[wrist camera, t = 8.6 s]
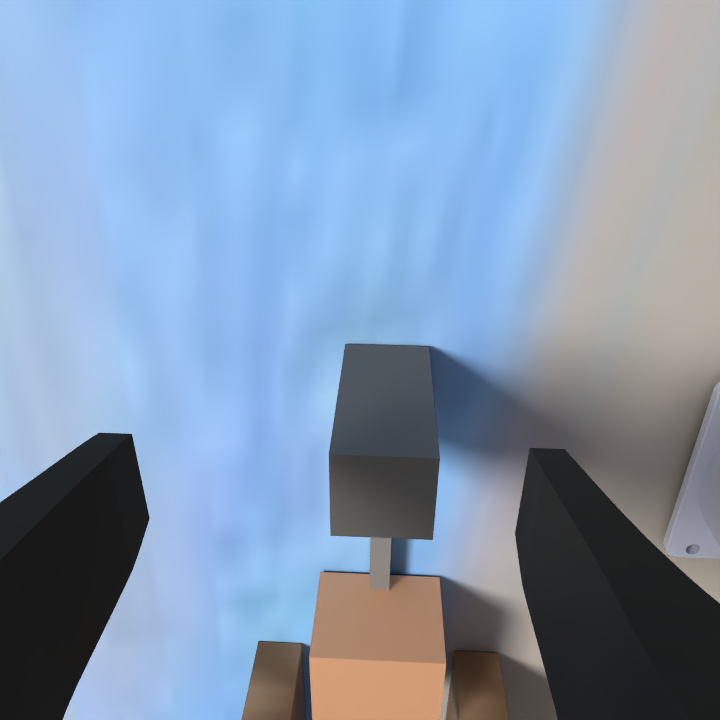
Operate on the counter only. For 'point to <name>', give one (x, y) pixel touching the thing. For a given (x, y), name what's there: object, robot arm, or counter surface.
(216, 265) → the counter surface
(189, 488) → the counter surface
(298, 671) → the brown wooden u-shaped piece
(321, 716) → the grey and tan dumbbell
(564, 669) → the robot arm
